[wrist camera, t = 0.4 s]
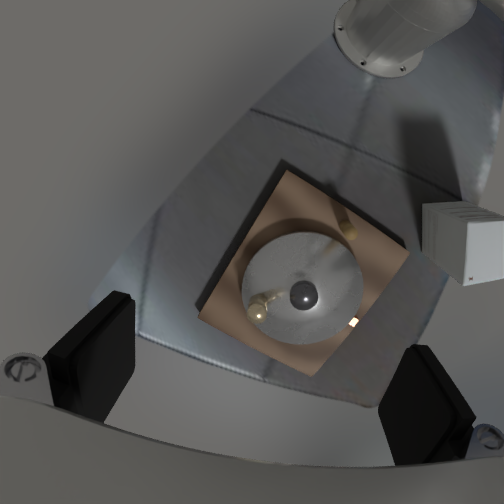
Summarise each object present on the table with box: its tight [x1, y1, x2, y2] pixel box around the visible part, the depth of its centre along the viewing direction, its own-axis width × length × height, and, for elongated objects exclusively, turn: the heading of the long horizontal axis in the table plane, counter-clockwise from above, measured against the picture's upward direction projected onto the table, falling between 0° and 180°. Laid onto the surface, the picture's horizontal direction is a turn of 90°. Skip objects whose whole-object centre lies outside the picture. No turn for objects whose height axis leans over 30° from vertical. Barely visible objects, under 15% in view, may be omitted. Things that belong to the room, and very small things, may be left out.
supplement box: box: [422, 201, 504, 286], centre depth 34 cm, size 7×7×13 cm
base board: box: [197, 169, 410, 377], centre depth 42 cm, size 24×20×5 cm
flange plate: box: [242, 230, 364, 345], centre depth 40 cm, size 16×17×5 cm
